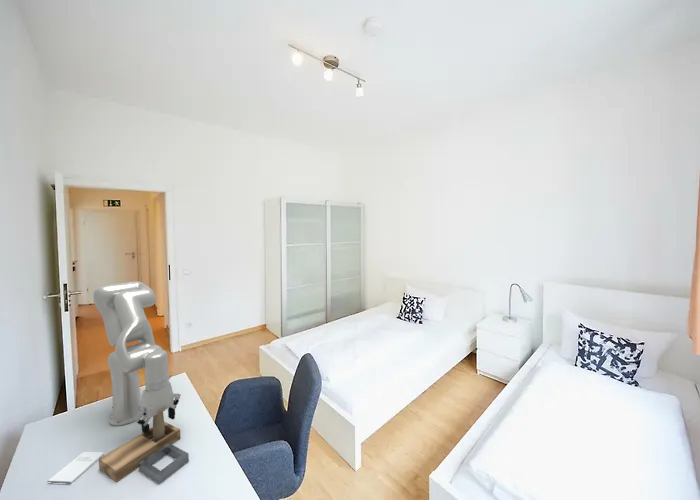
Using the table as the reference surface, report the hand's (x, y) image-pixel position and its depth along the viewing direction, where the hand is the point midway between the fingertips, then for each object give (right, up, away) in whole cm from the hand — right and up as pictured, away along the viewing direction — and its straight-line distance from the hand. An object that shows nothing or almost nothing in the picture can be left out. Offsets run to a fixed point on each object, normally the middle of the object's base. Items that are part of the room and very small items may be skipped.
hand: (159, 425), depth 112 cm
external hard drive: (-21, -9, -12) cm, 26 cm away
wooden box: (-3, -8, -5) cm, 9 cm away
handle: (-1, -7, +1) cm, 7 cm away
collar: (+8, -8, -10) cm, 16 cm away
